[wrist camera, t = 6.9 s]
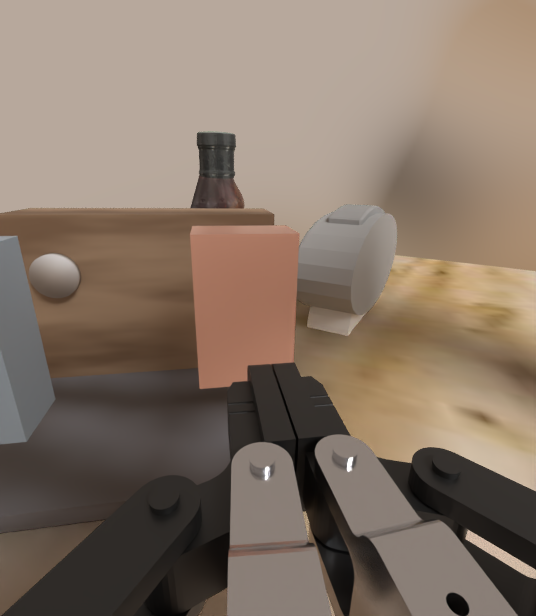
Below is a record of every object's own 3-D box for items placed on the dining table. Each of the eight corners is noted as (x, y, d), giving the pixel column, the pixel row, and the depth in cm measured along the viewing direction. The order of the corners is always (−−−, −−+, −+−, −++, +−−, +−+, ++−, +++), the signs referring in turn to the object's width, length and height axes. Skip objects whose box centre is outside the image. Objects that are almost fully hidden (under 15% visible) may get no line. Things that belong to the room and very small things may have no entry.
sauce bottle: (192, 301, 46) (181, 134, 39) (238, 297, 48) (235, 137, 41) (199, 319, 40) (188, 127, 33) (251, 314, 42) (251, 131, 35)
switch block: (62, 359, 31) (30, 208, 27) (262, 346, 34) (263, 208, 29) (-84, 544, 15) (-223, 251, 11) (310, 492, 18) (329, 243, 14)
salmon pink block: (201, 339, 24) (194, 219, 21) (272, 335, 25) (275, 219, 22) (199, 388, 18) (189, 234, 15) (292, 381, 19) (299, 233, 16)
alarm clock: (350, 283, 56) (358, 199, 51) (390, 289, 53) (402, 201, 48) (287, 336, 37) (291, 210, 32) (344, 350, 34) (358, 214, 29)
